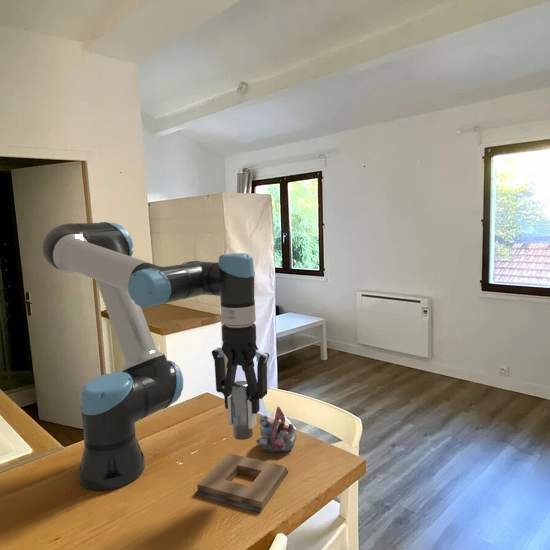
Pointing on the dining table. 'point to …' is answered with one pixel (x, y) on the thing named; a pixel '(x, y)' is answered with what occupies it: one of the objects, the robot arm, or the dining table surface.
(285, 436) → the red and grey figurine
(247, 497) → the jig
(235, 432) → the steel cylinder rod
